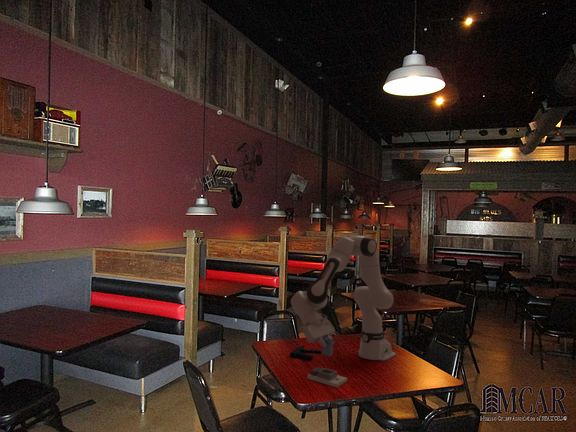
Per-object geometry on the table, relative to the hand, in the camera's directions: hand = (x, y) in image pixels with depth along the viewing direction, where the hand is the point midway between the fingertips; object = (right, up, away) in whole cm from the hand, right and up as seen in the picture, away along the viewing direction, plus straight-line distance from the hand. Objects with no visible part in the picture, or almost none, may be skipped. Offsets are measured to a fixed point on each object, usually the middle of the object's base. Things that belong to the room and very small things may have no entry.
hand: (329, 345), depth 192 cm
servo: (-1, -4, 0) cm, 4 cm away
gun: (-9, -18, +39) cm, 44 cm away
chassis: (-1, -16, 0) cm, 16 cm away
